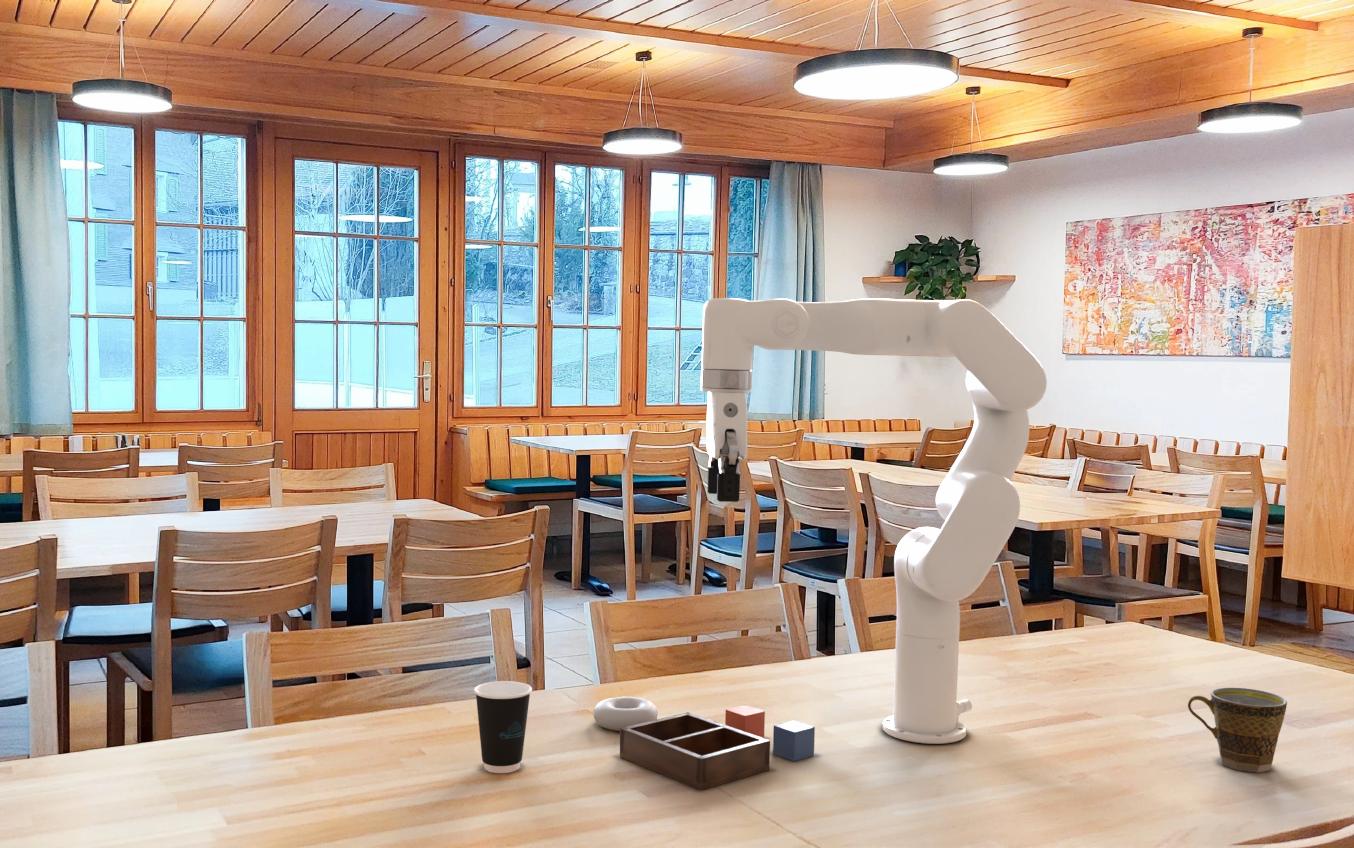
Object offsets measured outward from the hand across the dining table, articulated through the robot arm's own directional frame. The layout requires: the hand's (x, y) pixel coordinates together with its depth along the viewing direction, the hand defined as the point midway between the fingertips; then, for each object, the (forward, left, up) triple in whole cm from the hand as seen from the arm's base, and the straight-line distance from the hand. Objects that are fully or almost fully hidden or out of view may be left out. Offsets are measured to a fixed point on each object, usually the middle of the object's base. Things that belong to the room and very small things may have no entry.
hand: (722, 497), depth 185 cm
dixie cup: (+33, -8, -36) cm, 50 cm away
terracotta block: (-3, +3, -36) cm, 36 cm away
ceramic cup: (-51, +55, -36) cm, 83 cm away
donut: (+7, -13, -36) cm, 39 cm away
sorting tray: (+11, +7, -36) cm, 38 cm away
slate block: (-3, +13, -36) cm, 39 cm away
